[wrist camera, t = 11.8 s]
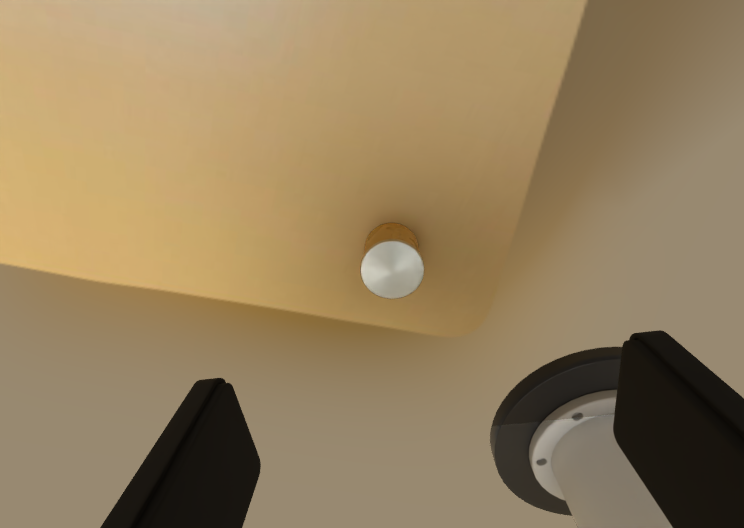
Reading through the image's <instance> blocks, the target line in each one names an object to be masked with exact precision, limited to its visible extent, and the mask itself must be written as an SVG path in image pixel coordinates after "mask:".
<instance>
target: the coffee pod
mask: <svg viewBox="0 0 744 528" xmlns="http://www.w3.org/2000/svg"><path fill="white" fill-rule="evenodd" d="M360 272H361V277H362V280H363V282H364V284H365V286H366V287H367V288H368V289H369V290H370V291H371V292H372V293H374V294H376V295H377V296H380V297H383V298H387V299H397V298H402V297H405V296H407V295H409V294H411V293H412V292H413V291H415V290H416V289H417V288H418V286H419V285H420V283H421V281H422V279H423V276H424V263H423V259H422V257H421V255H420V253H419V249H418V244H417V240H416V238H415V236H414V234H413V233H412V232H411V231H410V230H409V229H408V228H407V227H405V226H403V225H400V224H396V223H387V224H383V225H380V226H378V227H377V228H375V229H374V230H373V231H372V232H371V233H370V234H369V236H368V238H367V240H366V244H365V251H364V256H363V258H362V261H361V268H360Z"/></svg>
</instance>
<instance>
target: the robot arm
mask: <svg viewBox="0 0 744 528" xmlns="http://www.w3.org/2000/svg"><path fill="white" fill-rule="evenodd" d="M529 460H530V465H531V468H532V470H533V472H534V475H535V477H536V479H537V481H538V482H539V483H540V485H541V486H542V487H543V488H544V489H545V490H547V491H548V492H549V493H550V494H552V495H554V496H556V497H558V498H559V499H562V500H565V501H566V503H567V505H568V507H569V509H570V512H571V514H572V516H573V518H574V521H575V523H576V525H577V527H578V528H744V399H743V398H742V397H741V396H740V395H739V394H738V393H737V392H735V391H734V390H733V389H732V388H731V387H730V386H728V385H727V384H726V383H725V382H724V381H722V380H721V379H720V378H719V377H718V376H717V375H715V374H714V373H713V372H712V371H711V370H709V369H708V368H707V367H706V366H705V365H704V364H702V363H701V362H700V361H699V360H698V359H697V358H696V357H694V356H693V355H692V354H691V353H690V352H688V351H687V350H686V349H685V348H684V347H683V346H681V345H680V344H679V343H678V342H677V341H675V340H674V339H673V338H672V337H671V336H669V335H668V334H667V333H666V332H664V331H651V332H643V333H634V334H632V335H631V337H630V340H628V341H625V342H624V344H623V348H622V356H621V365H620V373H619V381H618V390H607V391H599V392H595V393H591V394H587V395H584V396H581V397H579V398H576V399H574V400H571V401H569V402H568V403H566V404H564V405H562V406H561V407H559V408H557V409H556V410H555V411H554V412H552V413H551V414H550V415H549V416H547V417H546V418H545V420H544V421H543V422H542V423H541V424H540V425H539V426H538V428H537V430H536V431H535V433H534V435H533V436H532V439H531V442H530V446H529ZM259 474H260V459H259V456H258V453H257V450H256V448H255V445H254V442H253V440H252V437H251V434H250V432H249V429H248V426H247V424H246V421H245V418H244V415H243V413H242V410H241V407H240V405H239V402H238V400H237V397H236V394H235V391H234V389H233V386H232V385H231V384H230V383H226V382H225V380H224V379H222V378H215V379H205V380H199V381H197V382H196V383H195V384H194V386H193V387H192V389H191V390H190V392H189V393H188V395H187V396H186V398H185V399H184V401H183V402H182V404H181V405H180V407H179V408H178V410H177V411H176V413H175V414H174V416H173V418H172V419H171V421H170V422H169V424H168V425H167V427H166V428H165V430H164V431H163V433H162V434H161V436H160V438H159V439H158V440H157V442H156V443H155V445H154V447H153V448H152V450H151V451H150V453H149V454H148V456H147V457H146V459H145V460H144V462H143V464H142V465H141V466H140V468H139V470H138V471H137V473H136V474H135V476H134V477H133V479H132V481H131V482H130V483H129V485H128V486H127V488H126V489H125V491H124V492H123V494H122V495H121V497H120V499H119V500H118V502H117V503H116V505H115V506H114V508H113V509H112V511H111V512H110V514H109V515H108V517H107V518H106V520H105V521H104V523H103V525H102V526H101V528H242V526H243V523H244V520H245V517H246V514H247V511H248V508H249V505H250V502H251V498H252V496H253V493H254V490H255V487H256V483H257V480H258V477H259Z"/></svg>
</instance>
